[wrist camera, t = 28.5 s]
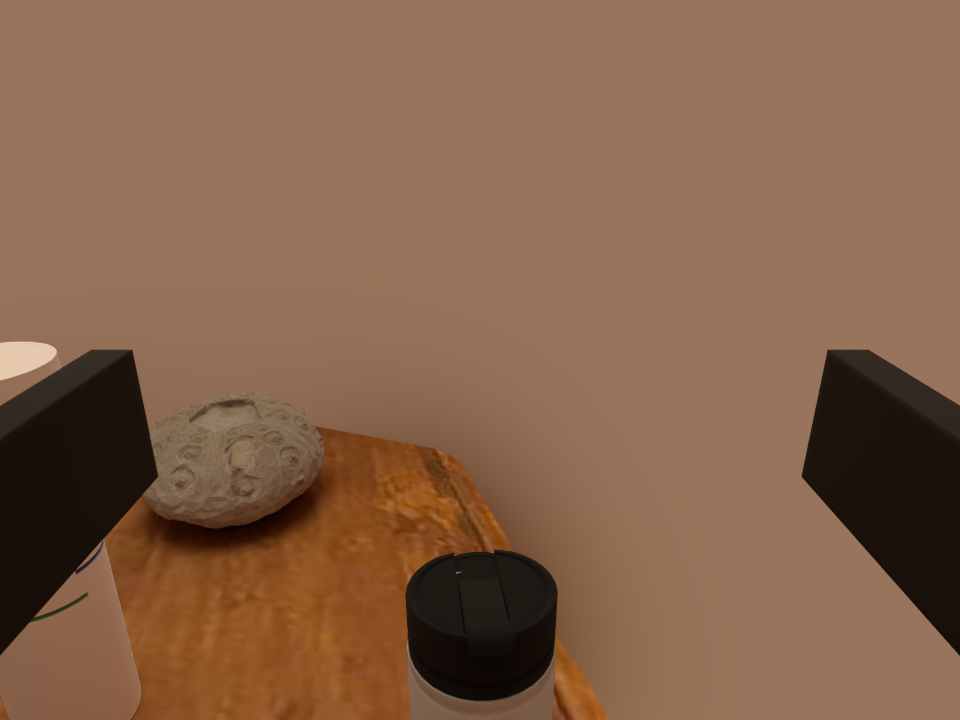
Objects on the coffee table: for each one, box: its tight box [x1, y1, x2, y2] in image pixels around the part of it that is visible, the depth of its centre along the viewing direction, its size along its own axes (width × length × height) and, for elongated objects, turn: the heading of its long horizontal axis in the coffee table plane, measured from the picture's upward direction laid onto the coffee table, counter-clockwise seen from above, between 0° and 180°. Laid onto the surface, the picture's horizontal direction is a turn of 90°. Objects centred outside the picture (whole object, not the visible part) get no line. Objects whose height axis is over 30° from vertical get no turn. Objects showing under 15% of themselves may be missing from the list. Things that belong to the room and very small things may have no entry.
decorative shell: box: [141, 392, 325, 529], centre depth 65 cm, size 18×18×10 cm
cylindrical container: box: [0, 342, 142, 720], centre depth 38 cm, size 7×7×25 cm
